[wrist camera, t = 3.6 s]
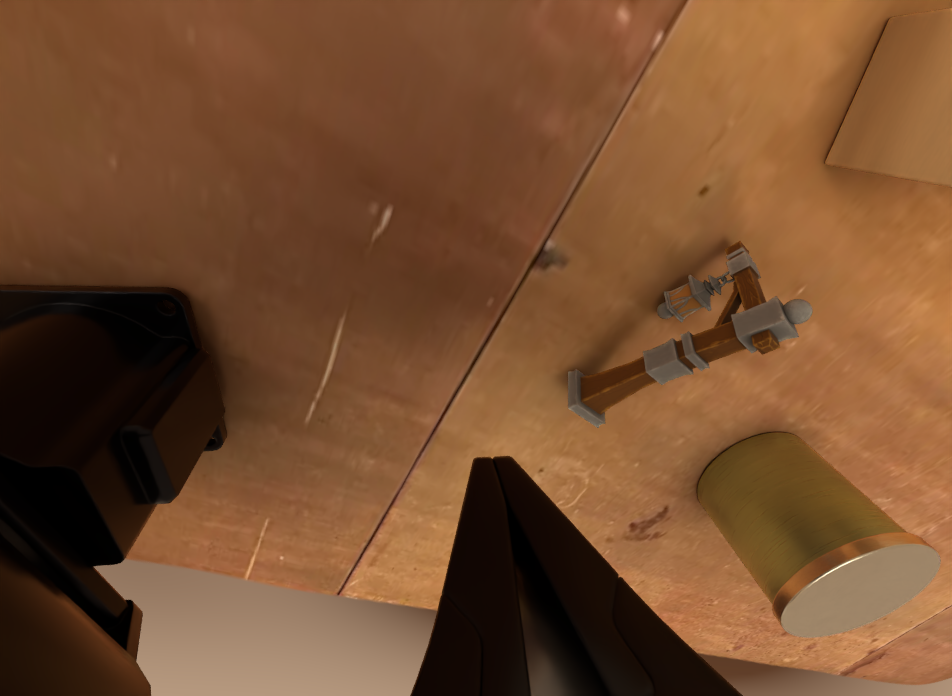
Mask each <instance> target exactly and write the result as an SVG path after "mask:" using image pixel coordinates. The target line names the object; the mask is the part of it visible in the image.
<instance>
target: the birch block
mask: <svg viewBox="0 0 952 696" xmlns="http://www.w3.org/2000/svg"><path fill="white" fill-rule="evenodd" d="M825 164H826V165H830V166H835V167H841V168H846V169H852V170H857V171H863V172H869V173H874V174H880V175H885V176H891V177H896V178H902V179H908V180H913V181H919V182H924V183H930V184H936V185H941V186H947V187H952V8H947V9H940V10H934V11H927V12H920V13H914V14H907V15H900V16H894V17H891V18H890V19H889V21H888V23H887V25H886V27H885V30H884V32H883V34H882V36H881V38H880V41H879V43H878V45H877V47H876V50H875V52H874V54H873V56H872V59H871V61H870V63H869V65H868V67H867V70H866V72H865V74H864V76H863V79H862V81H861V83H860V85H859V88H858V90H857V92H856V94H855V96H854V99H853V101H852V103H851V105H850V108H849V110H848V112H847V114H846V117H845V119H844V121H843V123H842V125H841V128H840V130H839V132H838V134H837V137H836V139H835V141H834V143H833V145H832V148H831V150H830V152H829V154H828V157H827V159H826V161H825Z"/></svg>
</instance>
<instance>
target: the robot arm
mask: <svg viewBox="0 0 952 696" xmlns="http://www.w3.org/2000/svg"><path fill="white" fill-rule="evenodd" d="M163 300H167V301H170V302H171V303H173V304H174V306H175V308H176V309H175V310H174V309H170V308H168V307H167V306H165V304H164V302H163ZM224 413H225V407H224V403H223V400H222V396H221V393H220V389H219V385H218V382H217V378H216V375H215V371H214V367H213V364H212V360H211V357H210V355H209V354H208V353H207V352H206V351H205V350H204V349H203V348H202V345H201V341H200V338H199V334H198V331H197V327H196V324H195V320H194V317H193V313H192V310H191V306H190V303H189V301H188V299H187V297H186V296H185V295H184V294H183V293H182V292H180V291H178V290H176V289H173V288H164V287H97V286H30V285H0V696H151V687H150V684H149V682H148V681H147V679H146V677H145V676H144V674H143V672H142V671H141V669H140V667H139V666H138V664H137V662H136V659H137V652H138V645H139V638H140V631H141V623H142V616H143V613H142V611H141V610H140V609H139V608H138V607H137V605H136V604H134V602H133V601H131V600H124V598H123V597H122V596H121V595H120V594H119V593H118V592H117V591H116V590H115V589H114V588H113V587H112V586H111V585H110V584H109V583H108V582H107V581H106V580H105V578H104V577H103V576H101V574H100V573H99V572H98V571H97V570H96V569H95V568H94V567H93V566H100V565H114V564H118V563H121V562H122V561H123V560H124V559H125V557H126V556H127V554H128V552H129V551H130V549H131V547H132V546H133V544H134V542H135V541H136V539H137V537H138V536H139V534H140V532H141V531H142V529H143V527H144V526H145V524H146V522H147V521H148V519H149V517H150V516H151V514H152V512H153V511H154V509H155V507H156V506H157V504H166V503H171V502H172V501H173V500H174V499H175V498H176V497H177V496H178V495H179V493H180V491H181V489H182V488H183V486H184V484H185V482H186V481H187V479H188V477H189V475H190V473H191V472H192V470H193V468H194V466H195V465H196V463H197V461H198V459H199V457H200V456H201V454H202V452H203V451H214V450H218V449H219V448H221V447H222V445H223V443H224V441H225V439H226V438H227V432H226V429H225V425H224V422H223V418H222V417H223V415H224ZM211 437H213V438H215V439H212V438H211ZM410 696H743V695H742V694H740V693H739V692H738V691H737V690H736V689H735V688H734V687H733V686H732V685H731V684H730V683H729V682H727V681H726V680H725V679H724V678H723V677H722V676H721V675H720V674H719V673H718V672H717V671H716V670H714V669H713V668H712V667H711V666H710V665H709V664H708V663H707V662H706V661H705V660H704V659H703V658H702V657H700V656H699V655H698V654H697V653H696V652H695V651H694V650H693V649H692V648H691V647H690V646H689V645H687V644H686V643H685V642H684V641H683V640H682V639H681V638H680V637H679V636H678V635H677V634H676V633H675V632H674V631H673V630H672V629H671V628H670V627H669V626H668V625H667V624H666V623H664V622H663V621H662V620H661V619H660V618H659V617H658V616H657V615H656V614H655V613H654V612H653V611H652V609H651V608H650V607H649V606H648V605H647V604H646V603H645V602H644V601H643V600H642V599H641V598H640V597H639V596H638V595H637V594H636V593H635V592H634V590H633V589H632V588H631V587H630V586H629V585H628V584H627V583H626V582H625V581H624V580H623V578H621V577H619V578H618V573H617V572H616V571H615V570H614V569H613V568H612V567H611V565H610V564H609V563H608V562H607V561H606V560H605V559H604V558H603V557H602V556H601V554H600V553H599V552H598V551H597V550H596V549H595V548H594V547H593V546H592V545H591V543H590V542H589V541H588V540H587V539H586V538H585V537H584V536H583V535H582V534H581V532H580V531H579V530H578V529H577V528H576V527H575V526H574V525H573V524H572V523H571V521H570V520H569V519H568V518H567V517H566V516H565V515H564V514H563V513H562V512H561V511H560V509H559V508H558V507H557V506H556V505H555V504H554V503H553V502H552V501H551V500H550V498H549V497H548V496H547V495H546V494H545V493H544V492H543V491H542V490H541V489H540V487H539V486H538V485H537V484H536V483H535V482H534V481H533V480H532V479H531V478H530V476H529V475H528V474H527V473H526V472H525V471H524V470H523V469H522V468H521V467H520V465H519V464H518V463H517V462H516V461H515V460H514V459H513V458H512V457H510V456H497V457H494V458H493V459H492V458H491V457H477V458H474V460H473V463H472V467H471V471H470V476H469V480H468V484H467V488H466V493H465V497H464V501H463V505H462V510H461V514H460V518H459V522H458V527H457V531H456V535H455V539H454V544H453V548H452V552H451V556H450V561H449V565H448V569H447V573H446V578H445V582H444V586H443V590H442V596H441V598H440V602H439V606H438V611H437V615H436V619H435V623H434V626H433V630H432V633H431V637H430V641H429V644H428V648H427V650H426V653H425V656H424V660H423V662H422V665H421V668H420V671H419V674H418V677H417V680H416V682H415V685H414V687H413V690H412V693H411V695H410Z"/></svg>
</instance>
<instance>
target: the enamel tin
mask: <svg viewBox="0 0 952 696" xmlns="http://www.w3.org/2000/svg"><path fill="white" fill-rule="evenodd" d="M697 495H698V499H699V502H700V503H701V505H702V506H703V508H704V509H705V511H706V512H707V513H708V515H709V516H710V518H711V519H712V520H713V522H714V523H715V525H716V526H717V527H718V529H719V530H720V532H721V533H722V534H723V536H724V537H725V539H726V540H727V541H728V543H729V544H730V546H731V547H732V549H733V550H734V551H735V553H736V554H737V556H738V557H739V558H740V560H741V561H742V563H743V564H744V565H745V567H746V568H747V570H748V571H749V572H750V574H751V575H752V577H753V578H754V579H755V581H756V582H757V584H758V585H759V587H760V588H761V589H762V591H763V592H764V594H765V595H766V596H767V598H768V599H769V601H770V602H771V603H772V610H773V613H774V616H775V617H776V619H777V620H778V622H779V623H780V625H781V626H782V627H783V629H784V630H785V631H786V632H788V633H789V634H791V635H794V636H798V637H805V638H814V637H824V636H830V635H835V634H839V633H843V632H846V631H850V630H853V629H856V628H859V627H861V626H864V625H866V624H869V623H871V622H873V621H876V620H878V619H880V618H882V617H884V616H886V615H888V614H889V613H891V612H893V611H895V610H896V609H898V608H900V607H901V606H903V605H904V604H906V603H907V602H909V601H910V600H911V599H913V598H914V597H915V596H917V595H918V594H919V593H920V592H921V591H922V590H923V589H924V588H925V587H926V586H927V585H928V584H929V583H930V582H931V581H932V579H933V578H934V577H935V575H936V574H937V572H938V570H939V567H940V562H941V560H940V556H939V554H938V553H937V551H936V550H935V549H934V548H933V547H931V546H930V545H929V544H928V543H927V542H926V541H924V540H923V539H922V538H921V537H919V536H917V535H914V534H911V533H907V532H906V531H905V530H904V529H903V528H902V527H900V526H899V525H898V524H897V523H896V522H895V521H894V520H893V519H891V518H890V517H889V516H888V515H887V514H886V513H885V512H883V511H882V510H881V509H880V508H879V507H878V506H877V505H876V504H874V503H873V502H872V501H871V500H870V499H869V498H868V497H867V496H865V495H864V494H863V493H862V492H861V491H860V490H859V489H857V488H856V487H855V486H854V485H853V484H852V483H851V482H850V481H848V480H847V479H846V478H845V477H844V476H843V475H842V474H841V473H839V472H838V471H837V470H836V469H835V468H834V467H833V466H831V465H830V464H829V463H828V462H827V461H826V460H825V459H824V458H822V457H821V456H820V455H819V454H818V453H817V452H816V451H815V450H813V449H812V448H811V447H810V446H809V445H808V444H807V443H805V442H804V441H803V440H802V439H801V438H799V437H798V436H796V435H793V434H790V433H784V432H773V433H765V434H761V435H757V436H754V437H751V438H748V439H746V440H744V441H741V442H739V443H737V444H736V445H734V446H732V447H730V448H729V449H727V450H726V451H724V452H723V453H722V454H721V455H719V456H718V457H717V458H716V459H715V460H714V461H713V462H712V463H711V464H710V465H709V466H708V467H707V469H706V470H705V472H704V473H703V475H702V477H701V478H700V481H699V483H698V488H697Z"/></svg>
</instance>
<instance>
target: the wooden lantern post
mask: <svg viewBox="0 0 952 696" xmlns="http://www.w3.org/2000/svg"><path fill="white" fill-rule="evenodd" d="M725 252H726V254H727V256H726V257H727V259H728V260H729V261H728V262H726V263H727V266H728V270H729V271H728V272H726V273H725V274H723V275H722V276H720V277H717V278H714V277H712V276H710V275H708V277H709V281H710V283H708V282H707V281H706V280H704V283H702V282H700V281H698V280H697V279H695V278H694V277H692V276H691V275H689V276H688V278H689V282H688V283H687V284H685V285H683V286H681V287H679V288H677V289H674V290H672V291H669V292H666V291H665V292H664V296H665V301H666V302H664V303H662V304H660V305H659V306H658V308H657V313H658V315H659V316H660V317H661V318H663V319H668V318H670V317H672V316H673V315H674V316H675V317H676V318H677V319H678V320H679V321H680V322H683V320H684V319H685V318H686V317H687V316H688V315H690V314H692V313H693V312H695V311H697V310H699V309H700V308H703V307H705V308H706V309H707V310H708V311H710V310H711V305H710V296H711V295H714V291H713V290H715V291H716V292H717V293H718V294H720V295H721V287H722V286H724V285H725V283H730V282H733V281H735V282H734V286H733V293H732V295H731V297H730V298H729V300H728V302H727V304H726V306H725V308H724V310H723V312H722V313H721V315H720V317H719V319H718V321H717V323H716V325H715V327H714V328H712V329H709V330H707V331H704V332H701V333H698V334H696V335H692V334H691V333H690V332H689V331H688V332H687V333H685V334H681V339H682V340H680V341H678V342H677V341H675V340H674V339H673V338H672V339H670V340H669V341H668V342H666V343H665V344H662V345H660V346H658V347H656V348H654V349H651V350H647V351H643V356H644V357H641V358H639V359H637V360H635V361H632V362H630V363H628V364H625V365H622V366H619V367H616V368H613V369H609V370H606V371H603V372H600V373H597V374H593V375H589V376H585V375H584V374H582V373H581V372H580V371H578V370H577V369H575V371H572V372H570V371H568V408H569V409H570V410H572V411H573V412H575V413H576V414H578V415H579V416H581V417H582V418H584V419H585V420H587V421H588V422H590V423H591V424H593V425H594V426H596V427H597V428H599V426H600V425H601V424H605V413H604V412H605V411H607V410H608V409H609V408H610V407H612V406H613V405H615V404H616V403H618V402H620V401H622V400H623V399H625V398H627V397H628V396H630V395H632V394H633V393H635V392H637V391H639V390H640V389H642V388H644V387H646V386H649V385H651V384H653V383H655V382H659V383H660V384H661V385H663V384H665V383H666V382H668V381H670V380H673V379H675V378H678V377H681V376H684V375H691V374H693V370H692V369H693V368H695V367H697V368H699V369H700V370H701V371H702V370H704V369H705V368H709V364H708V362H711V361H714V360H717V359H719V358H722V357H725V356H728V355H730V354H733V353H736V352H739V351H741V350H744V349H748V350H749V351H750V352H751V353H753V352H755V351H757V350H758V351H759V352H760V353H761V354H762V355H763V354H765V353H768V352H770V351H773V350H775V349H778V348H780V345H779V342H781V341H783V340H786V339H790V338H796V337H799V336H798V333H797V331H796V328H795V325H794V324H801V323H804V322H806V321H807V320H808V319H809V318H810V317H811V315H812V307H811V305H810V304H809V303H808V302H807V301H805V300H801V299H794V300H791V301H789V302H787V303H786V304H785V305H783V304H782V303H781V301H780V300H779V299H778V298H777V296H775V297H774V298H772V299H771V300H769V301H768V302H766V300H765V297H764V295H763V292H762V289H761V286H760V284H759V281H758V279H759V278H761V277H760V274H759V272H758V269H757V266H756V264H755V263H754V262H753V260H752V258H751V257H750V255H749V251H748V250H747V249H746V248H745V246H744V245H743V244H742V243H741V241H739V242H737V243H735V244H734V245H732V246H730V247H728V248H727V249H725ZM729 273H730V276H731V277H732V278H733V279H731V280H728V281H727V278H726V277H725V276H726V275H728V274H729ZM719 279H721V281H722V282H723V283H722V284H720V282H719V281H718V280H719ZM741 302H742V304H743V307H744V310H745V311H743V312H741V313H737V314H736V312H737V310H738V308H739V306H740V304H741Z"/></svg>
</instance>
